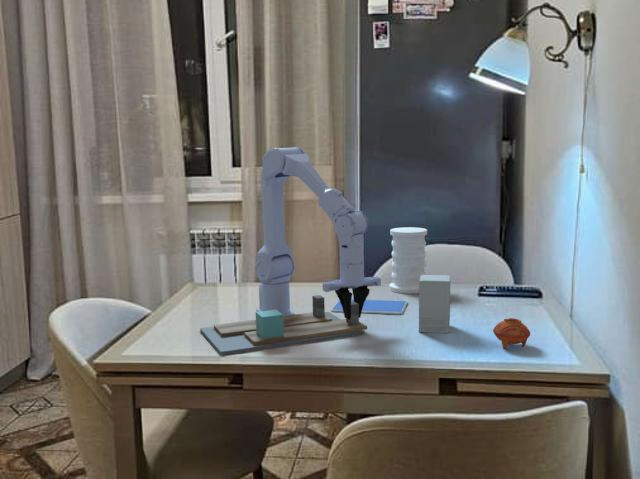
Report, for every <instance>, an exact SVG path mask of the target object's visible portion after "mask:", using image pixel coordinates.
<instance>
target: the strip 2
mask: <svg viewBox="0 0 640 479" xmlns="http://www.w3.org/2000/svg"><path fill="white" fill-rule="evenodd" d="M366 330H368V325H366V324H364V323H362V322H360V318H359V304H358V303H356V302H354V301H351V319H346V318H343V319H341V320H334V321H327V322H319V323H312V324H305V325H297V326H290V327H284V336H279V337H271V338H264V339H263V338H262V337H260V336H259V335H258V334H257V333H256V331H252V332H245V333H244V336H245V337H246V338H247V339H248V340H249V341H250V342H251V343H252V344H253V345H261V344H268V343H275V342H282V341H289V340H296V339H303V338H310V337H317V336H324V335H331V334H339V333H346V332H353V331H366Z"/></svg>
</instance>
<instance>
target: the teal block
mask: <svg viewBox="0 0 640 479" xmlns="http://www.w3.org/2000/svg"><path fill="white" fill-rule="evenodd" d="M255 320H256V333H257V334H258V335H259V336H260V337H262V338H263V339H264V338H271V337H279V336H284V325H283V314H282V313H280V312H279V311H277V310H268V311H260V312H258V311H256V312H255Z"/></svg>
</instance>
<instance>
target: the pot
mask: <svg viewBox="0 0 640 479" xmlns="http://www.w3.org/2000/svg"><path fill="white" fill-rule="evenodd" d="M492 332H493V334H494V336H495V338H497V339H498V340H499V341H500V342H501V345H502V349H503V350H507V349H508V345H519V344H521V347H522V348H523V347H525V346H526V344H527V341H528V339H529V338H530V336H531V331H530V329H529V328H528V327H527V326H526V324H524V323H523V322H522V320H521V319H518V318H512V317H508V318H504V319H503V320H502V321H500V322H498V323H497V324H496V325H495V326H494V327H493V330H492Z"/></svg>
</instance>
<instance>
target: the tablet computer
mask: <svg viewBox="0 0 640 479" xmlns="http://www.w3.org/2000/svg"><path fill="white" fill-rule="evenodd" d="M351 301H354V298H353V299H351ZM408 304H409V303H408V301H406V300H386V299H385V300H382V299H366V300H365V302H364V305H363V308H362V312H361V314H371V315H373V314H374V315H376V314H377V315H395V316H396V315H397V316H402V315H403V314H404V312H405V310H406V308H407V306H408ZM330 313H344V312H343V308H342V305H341V302H340V300H339V299H338V301H337V302H336V303H335V304H334V306H332V307H331V309H330Z"/></svg>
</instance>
